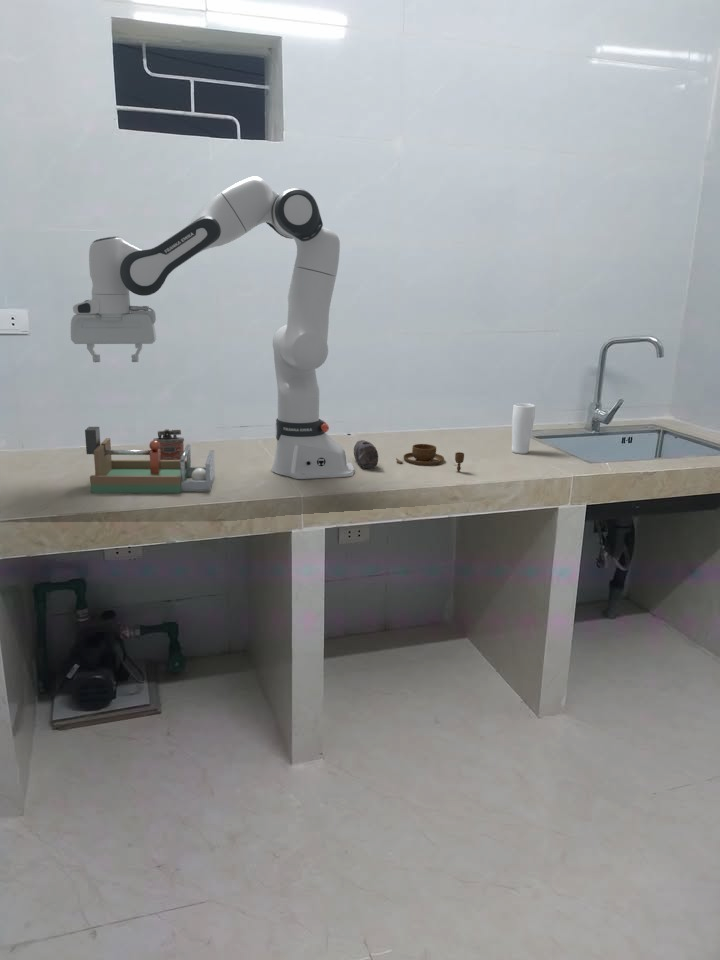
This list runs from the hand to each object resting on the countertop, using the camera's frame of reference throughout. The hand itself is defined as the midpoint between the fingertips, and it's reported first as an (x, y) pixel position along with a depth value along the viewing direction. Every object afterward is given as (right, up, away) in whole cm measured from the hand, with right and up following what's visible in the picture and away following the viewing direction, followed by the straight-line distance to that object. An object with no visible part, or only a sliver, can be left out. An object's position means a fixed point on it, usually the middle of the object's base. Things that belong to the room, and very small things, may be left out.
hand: (116, 362), depth 188 cm
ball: (+21, -29, 0) cm, 36 cm away
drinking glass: (+112, -21, +45) cm, 122 cm away
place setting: (+81, -26, +27) cm, 89 cm away
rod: (+3, -28, -2) cm, 28 cm away
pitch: (+7, -31, -1) cm, 31 cm away
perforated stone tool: (+63, -26, +25) cm, 72 cm away
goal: (+21, -31, +1) cm, 37 cm away
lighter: (+9, -26, +17) cm, 32 cm away
